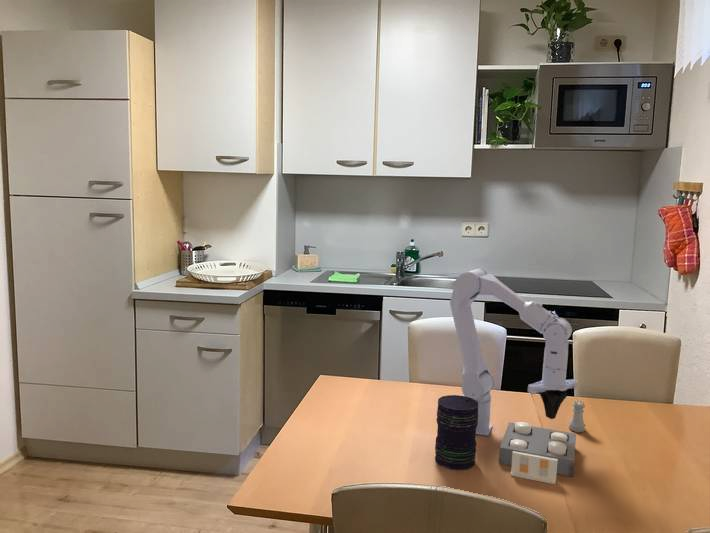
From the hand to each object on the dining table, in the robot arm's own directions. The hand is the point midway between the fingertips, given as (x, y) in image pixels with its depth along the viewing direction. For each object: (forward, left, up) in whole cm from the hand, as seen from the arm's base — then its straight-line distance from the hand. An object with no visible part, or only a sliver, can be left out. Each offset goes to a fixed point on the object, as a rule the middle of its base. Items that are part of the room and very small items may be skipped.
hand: (550, 417), depth 158 cm
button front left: (-6, -11, -7) cm, 15 cm away
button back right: (+3, -2, -7) cm, 8 cm away
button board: (-2, -7, -8) cm, 11 cm away
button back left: (-6, -2, -6) cm, 9 cm away
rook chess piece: (+7, +15, -8) cm, 19 cm away
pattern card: (-2, -19, -8) cm, 21 cm away
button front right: (+3, -11, -6) cm, 13 cm away
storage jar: (-20, -19, -8) cm, 29 cm away
